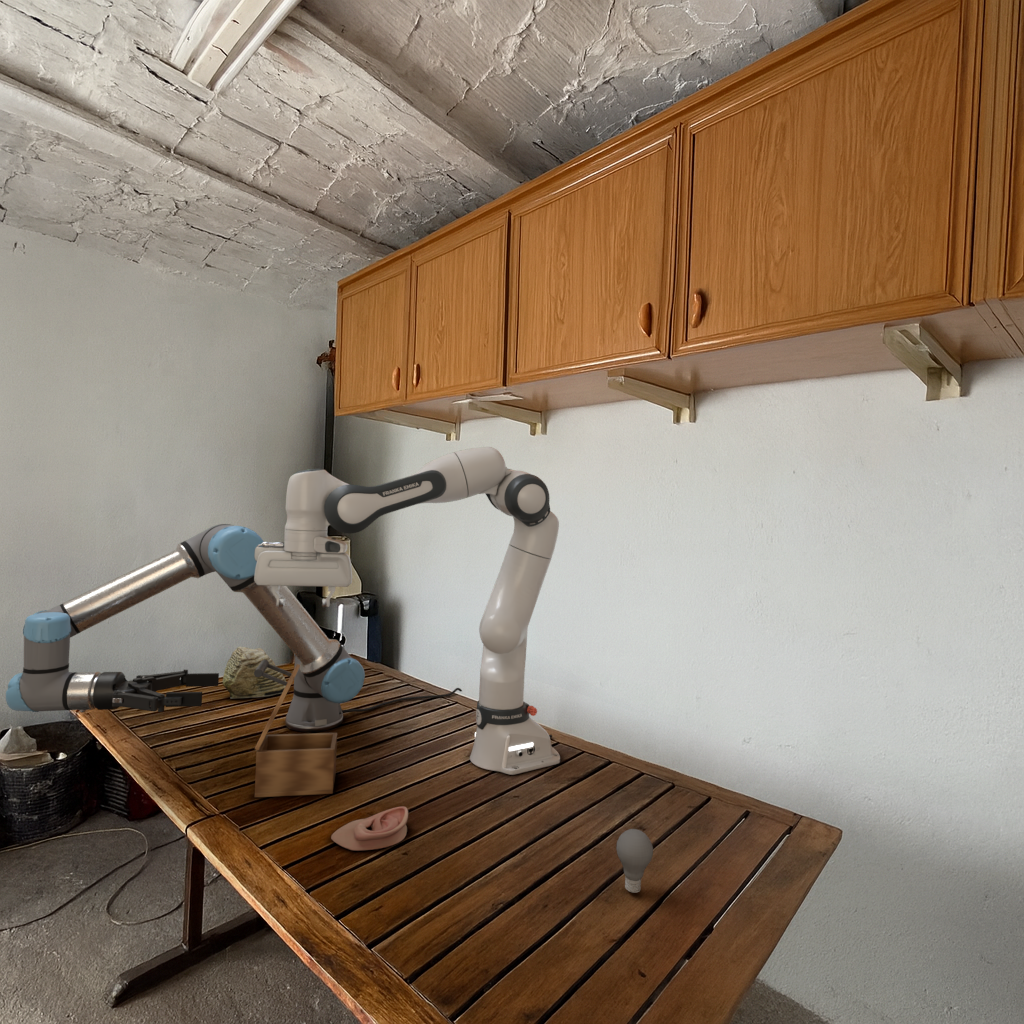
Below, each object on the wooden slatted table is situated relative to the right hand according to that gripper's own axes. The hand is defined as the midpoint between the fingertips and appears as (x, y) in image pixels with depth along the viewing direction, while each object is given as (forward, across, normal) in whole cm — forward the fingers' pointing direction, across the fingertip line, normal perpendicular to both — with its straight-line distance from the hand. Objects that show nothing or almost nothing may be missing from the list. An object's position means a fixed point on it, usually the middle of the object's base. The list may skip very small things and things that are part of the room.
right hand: (303, 606), depth 138 cm
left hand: (+18, -18, 0) cm, 25 cm away
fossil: (+39, -20, +65) cm, 79 cm away
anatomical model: (+39, +16, -23) cm, 48 cm away
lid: (+22, -4, 0) cm, 22 cm away
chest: (+39, 0, 0) cm, 39 cm away
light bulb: (+39, +59, -46) cm, 85 cm away
